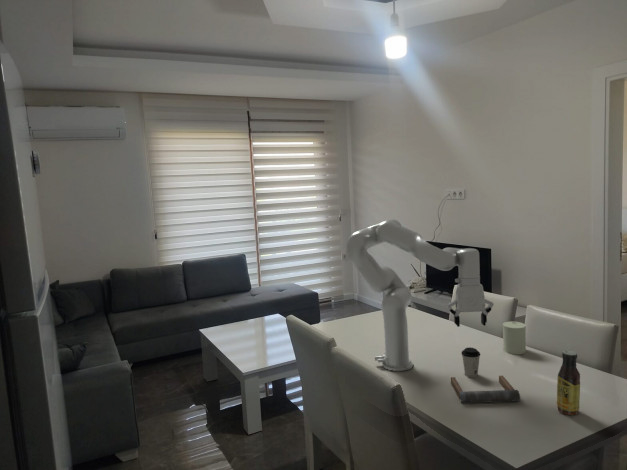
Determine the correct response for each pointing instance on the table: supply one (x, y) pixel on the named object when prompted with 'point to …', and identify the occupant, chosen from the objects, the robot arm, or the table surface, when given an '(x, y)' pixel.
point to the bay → (487, 393)
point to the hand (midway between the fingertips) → (470, 325)
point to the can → (514, 337)
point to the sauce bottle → (568, 385)
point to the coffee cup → (471, 361)
